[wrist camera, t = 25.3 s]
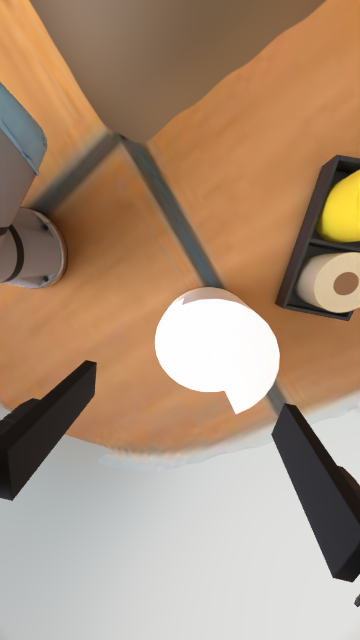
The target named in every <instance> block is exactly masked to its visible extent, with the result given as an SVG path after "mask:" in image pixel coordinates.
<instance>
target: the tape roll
mask: <svg viewBox="0 0 360 640" xmlns="http://www.w3.org/2000/svg"><path fill="white" fill-rule="evenodd" d="M315 228H316V230H317V232H318V234H319V235H320V236H321V237H322V238H323V239H325V240H326V241H328V242H333V243H348V242H355V241H360V170H358V171H356V172H355V173H353V174H351V175H349V176H348V177H346V178H344V179H342V180H341V181H339V182H337V183H335V184H334V185H332V186H331V187H330V188H329V190H328V192H327V195H326V198H325V201H324V203H323V206H322V209H321V212H320V214H319V217H318V220H317V223H316V226H315Z"/></svg>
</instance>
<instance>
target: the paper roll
mask: <svg viewBox="0 0 360 640" xmlns="http://www.w3.org/2000/svg"><path fill="white" fill-rule="evenodd" d="M294 291H295V293H296V295H297V296H298V297H299V298H300V299H301V300H302V301H304V302H306V303H309V304H312V305H314V306H317V307H320V308H323V309H325V310H328V311H331V312H336V313H342V312H348V311H352V310H354V309H357V308H358V307H360V253H356V252H350V253H335V254H321V255H316V256H313V257H311V258H309V259H308V260H306V261H305V262H304V263H302V265H301V267H300V270H299V273H298V275H297V278H296V281H295V284H294Z"/></svg>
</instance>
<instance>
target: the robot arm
mask: <svg viewBox="0 0 360 640" xmlns="http://www.w3.org/2000/svg"><path fill="white" fill-rule="evenodd" d="M46 150H47V140H46V137H45V134H44V132H43V130H42V129H41V127H40V126H39V124H38V123H37V122H36V121H35V120H34V119H33V117H32V116H31V115H30V114H29V113H28V112H27V111H26V110H25V108H24V107H23V106H22V105H21V104H20V103H19V102H18V101H17V100H16V99H15V97H14V96H13V95H12V94H11V93H10V92H9V91H8V90H7V89H6V88H5V87H4V86H3V84H2V83H1V82H0V283H7V284H12V285H16V286H21V287H25V288H31V289H36V288H43V287H48V286H51V285H53V284H55V283H56V282H57V281H58V280H60V278H61V277H62V276H63V274H64V272H65V270H66V267H67V262H68V252H67V246H66V243H65V240H64V238H63V236H62V234H61V232H60V230H59V229H58V227H57V226H56V225H55V224H54V223H53V222H52V221H51V220H50V219H49V218H48V217H46V216H45V215H43V214H41V213H39V212H37V211H34V210H31V209H28V208H24V207H20V205H21V203H22V202H23V200H24V198H25V196H26V194H27V192H28V190H29V188H30V186H31V184H32V182H33V180H34V178H35V176H36V175H37V176H38V174H39V170H38V169H39V167H40V164H41V162H42V159H43V157H44V155H45V152H46ZM96 365H97V362H92V361H87V360H86V361H85V362H83V363H82V364H81V365H80V366H79V367H78V368H77V369H75V370H74V371H73V372H72V373H71V374H70V375H69V376H67V377H66V378H65V379H64V380H63V381H62V382H61V383H59V384H58V385H57V386H56V387H55V388H54V389H53V390H51V391H50V392H49V393H48V394H47V395H46V396H45V397H43V398H42V399H41V400H38V399H34V398H32V399H30V400H28V401H26V402H24V403H22V404H20V405H19V406H18V407H17V408H15V409H14V410H13V411H12V412H11V413H10V414H8V415H7V416H5V417H4V418H3V420H1V421H0V498H3V499H8V500H12V501H13V499H14V498H15V496H16V495H17V494H18V493H19V492H20V490H21V489H22V488H23V486H24V485H25V484H26V483H27V481H28V480H29V478H30V477H31V476H32V475H33V474H34V472H35V471H36V470H37V468H38V467H39V466H40V464H41V463H42V462H43V461H44V459H45V458H46V457H47V456H48V454H49V453H50V451H51V450H52V449H53V448H54V447H55V445H56V444H57V443H58V441H59V440H60V439H61V437H62V436H63V435H64V434H65V432H66V431H67V430H68V429H69V427H70V426H71V425H72V423H73V422H74V421H75V420H76V418H77V417H78V416H79V414H80V413H81V412H82V411H83V409H84V408H85V407H86V405H87V404H88V403H89V402H90V400H91V399H92V398H93V396H94V393H95V379H96ZM271 435H272V437H273V439H274V442H275V444H276V446H277V449H278V451H279V453H280V456H281V458H282V460H283V463H284V465H285V467H286V469H287V472H288V474H289V476H290V479H291V481H292V484H293V486H294V488H295V491H296V493H297V495H298V497H299V500H300V502H301V504H302V507H303V509H304V511H305V514H306V516H307V518H308V521H309V523H310V525H311V528H312V530H313V532H314V535H315V537H316V539H317V542H318V544H319V546H320V549H321V551H322V553H323V555H324V558H325V560H326V563H327V565H328V567H329V570H330V572H331V574H332V577H333V578H336V579H340V580H344V581H349V582H353V581H354V580H355V579H356V578H357V577H358V575H359V574H360V485H359V484H358V483H357V481H356V480H355V479H354V478H353V477H352V476H351V475H350V474H349V473H348V472H347V471H346V470H345V469H344V468H343V467H340V466H337V465H336V463H335V462H334V460H333V459H332V457H331V456H330V455H329V453H328V452H327V450H326V449H325V447H324V446H323V444H322V443H321V442H320V440H319V438H318V437H317V436H316V434H315V433H314V431H313V430H312V428H311V427H310V425H309V424H308V423H307V421H306V420H305V418H304V417H303V415H302V414H301V412H300V411H299V409H298V408H297V407H296V406H295V405H291V404H286V403H285V404H284V406H283V408H282V411H281V413H280V415H279V418H278V420H277V422H276V425H275V427H274V430H273V432H272V434H271ZM354 604H355V605H356V606H357V607H359V606H360V595H359V596H358V597H357V598H356V600H355V603H354Z"/></svg>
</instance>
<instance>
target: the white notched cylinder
mask: <svg viewBox="0 0 360 640" xmlns="http://www.w3.org/2000/svg"><path fill="white" fill-rule="evenodd" d="M155 346H156V354H157V356H158V359H159V361H160V364H161V366H162V367H163V369H164V370H165V371H166V372H167V374H168V375H169V376H170V377H171V378H172V379H174V380H175V381H176V382H177V383H179V384H181V385H183V386H185V387H187V388H189V389H192V390H197V391H201V392H218V391H222V390H224V391H225V393H226V395H227V397H228V399H229V401H230V403H231V405H232V407H233V409H234V411H235V413H236V414H238V413H240V412H242V411H244V410H246V409H248V408H251V407H252V406H253V405H254V404H256V403H257V402H258V401H260V400H261V399H262V398H263V397H264V396H265V395H266V393H267V392H268V391H269V389H270V388H271V387H272V385H273V383H274V381H275V378H276V375H277V373H278V370H279V357H280V353H279V349H278V345H277V340H276V337H275V336H274V334H273V332H272V330H271V329H270V327H269V325H268V324H267V323H266V322H265V321H264V320H263V319H262V318H261V317H260V316H259V315H258V314H257V313H256V312H254V311H253V310H252V309H251V308H250V307H249V306H248V305H246V304H245V303H244V302H243V301H242V300H241V299H239V298H238V297H237V296H236V295H234V294H232V293H230V292H228V291H226V290H224V289H219V288H214V287H203V288H197V289H194V290H191V291H188V292H186V293H184V294H183V295H181V296H180V297H178V298H177V299H175V301H174V302H173V303H172V304H171V305H170V306H169V307H168V309H167V310H166V312H165V313H164V315H163V317H162V319H161V321H160V323H159V325H158V327H157V331H156V338H155Z"/></svg>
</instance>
